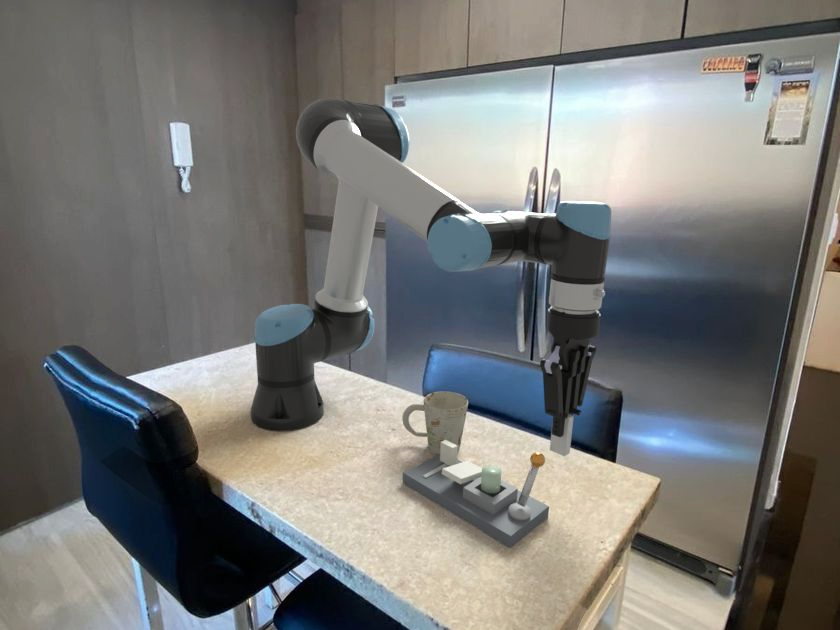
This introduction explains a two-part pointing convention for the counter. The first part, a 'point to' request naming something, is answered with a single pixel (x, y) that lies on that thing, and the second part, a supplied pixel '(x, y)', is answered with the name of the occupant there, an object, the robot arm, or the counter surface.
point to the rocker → (462, 472)
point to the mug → (440, 418)
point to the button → (491, 479)
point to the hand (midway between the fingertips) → (559, 451)
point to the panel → (478, 502)
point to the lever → (531, 476)
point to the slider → (448, 453)
